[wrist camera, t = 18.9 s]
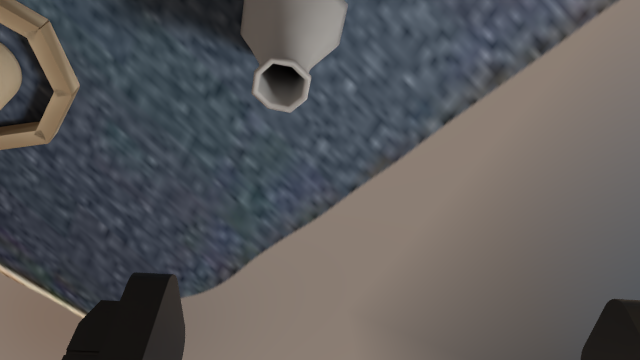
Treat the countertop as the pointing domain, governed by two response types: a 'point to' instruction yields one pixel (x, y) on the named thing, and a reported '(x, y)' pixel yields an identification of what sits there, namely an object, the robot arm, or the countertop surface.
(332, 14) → the flask
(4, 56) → the candle
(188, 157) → the countertop surface
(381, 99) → the countertop surface
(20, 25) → the maple ring
